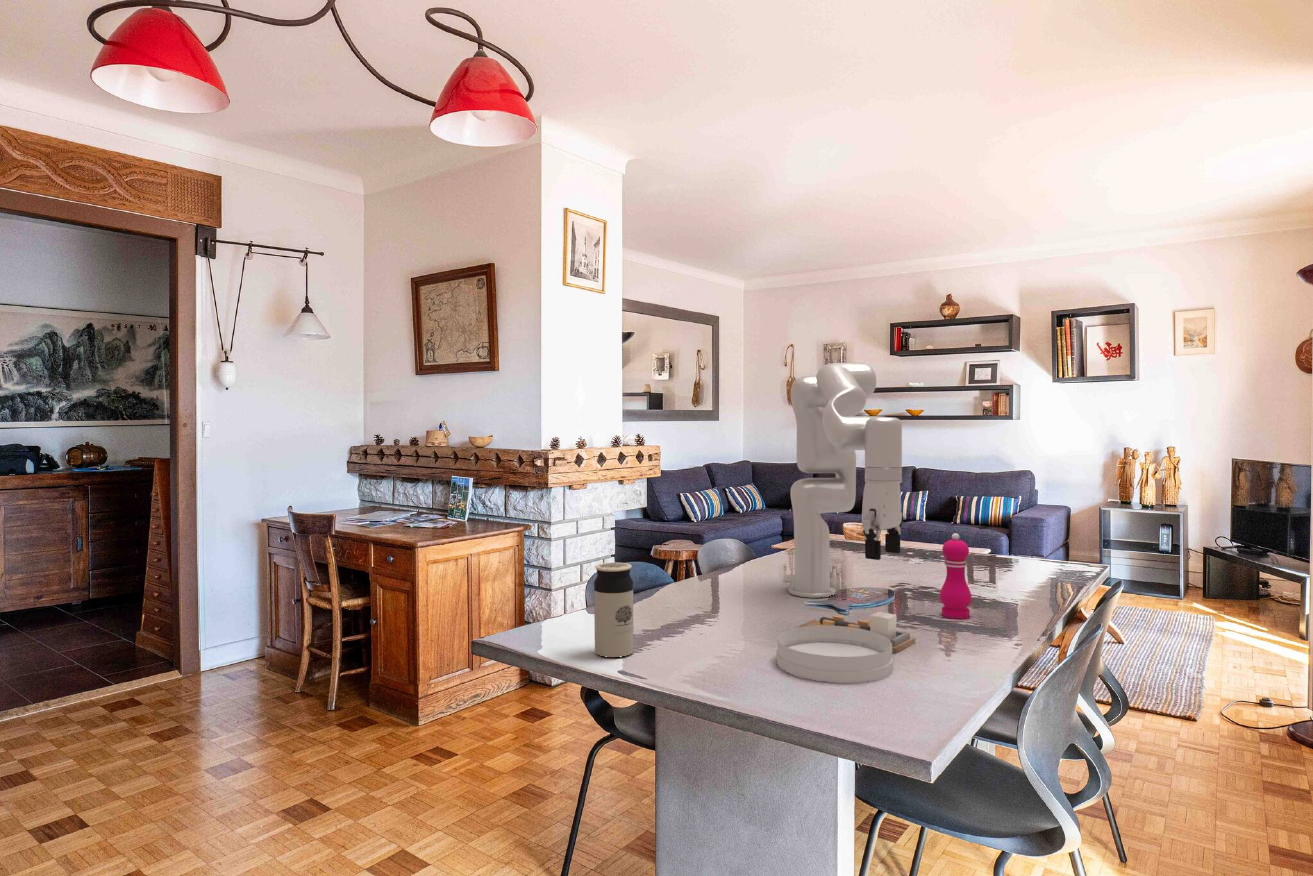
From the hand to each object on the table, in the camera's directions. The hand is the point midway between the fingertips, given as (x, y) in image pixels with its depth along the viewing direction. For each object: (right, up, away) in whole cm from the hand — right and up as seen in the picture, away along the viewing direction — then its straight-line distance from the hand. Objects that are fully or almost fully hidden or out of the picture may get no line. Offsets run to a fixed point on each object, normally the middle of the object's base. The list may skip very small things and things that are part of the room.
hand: (883, 555), depth 163 cm
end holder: (0, -18, -1) cm, 18 cm away
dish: (-14, -19, -14) cm, 28 cm away
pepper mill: (+24, -18, +22) cm, 37 cm away
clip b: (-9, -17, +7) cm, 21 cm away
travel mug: (-57, -19, -6) cm, 60 cm away
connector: (-5, -17, +4) cm, 18 cm away
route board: (-5, -19, +4) cm, 20 cm away
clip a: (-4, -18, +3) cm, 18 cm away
